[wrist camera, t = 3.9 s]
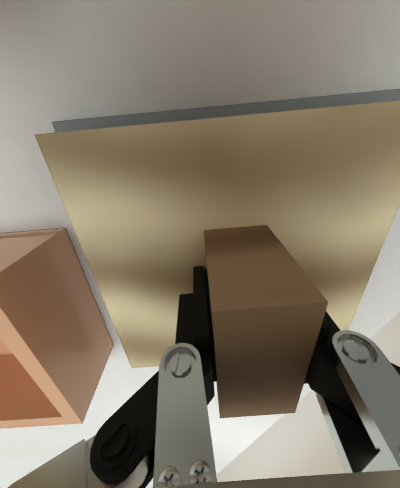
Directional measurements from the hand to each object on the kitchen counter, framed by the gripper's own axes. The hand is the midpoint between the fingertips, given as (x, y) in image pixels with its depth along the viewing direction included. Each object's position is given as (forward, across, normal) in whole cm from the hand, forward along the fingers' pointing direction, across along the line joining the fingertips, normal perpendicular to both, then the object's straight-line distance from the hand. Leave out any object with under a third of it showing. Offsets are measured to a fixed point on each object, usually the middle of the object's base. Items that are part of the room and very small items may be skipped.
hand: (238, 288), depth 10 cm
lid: (+2, 0, 0) cm, 2 cm away
